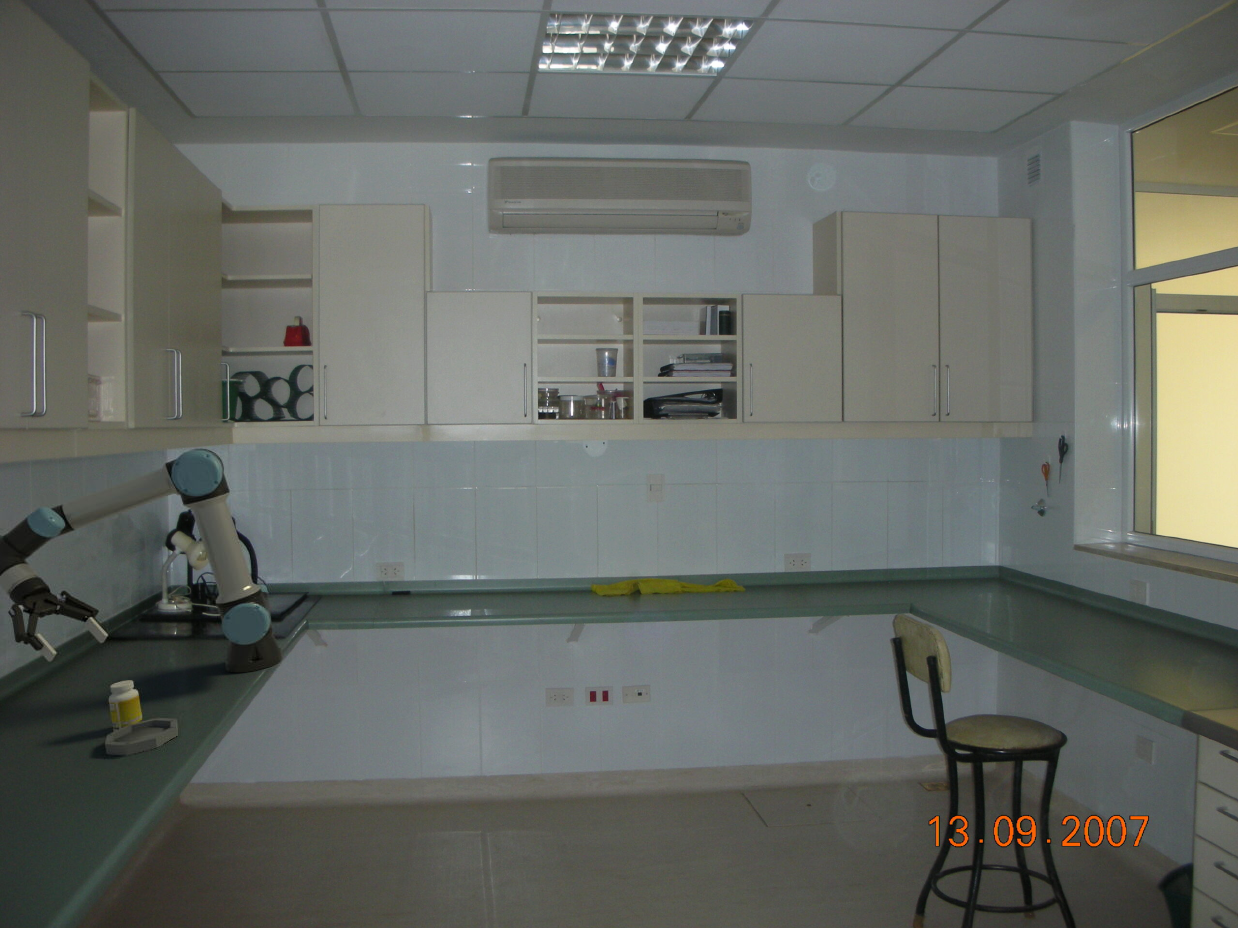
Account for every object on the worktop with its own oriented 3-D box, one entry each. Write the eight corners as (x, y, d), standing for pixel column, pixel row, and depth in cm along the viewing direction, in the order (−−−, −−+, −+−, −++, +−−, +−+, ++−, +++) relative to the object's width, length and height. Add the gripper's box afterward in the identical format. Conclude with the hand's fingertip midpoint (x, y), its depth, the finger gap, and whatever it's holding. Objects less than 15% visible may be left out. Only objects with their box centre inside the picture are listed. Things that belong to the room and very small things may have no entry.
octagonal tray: (144, 726, 196) (143, 717, 195) (191, 729, 191) (190, 719, 191) (92, 753, 182) (90, 742, 182) (141, 756, 178) (140, 745, 178)
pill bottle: (148, 721, 199) (142, 677, 198) (134, 732, 193) (127, 686, 192) (122, 723, 199) (116, 680, 198) (107, 734, 193) (101, 689, 191)
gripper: (65, 584, 213) (117, 642, 210) (-35, 611, 189) (22, 676, 186) (78, 564, 211) (130, 622, 208) (-22, 589, 187) (36, 654, 184)
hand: (79, 648), depth 197 cm, fingers open, 13 cm apart
